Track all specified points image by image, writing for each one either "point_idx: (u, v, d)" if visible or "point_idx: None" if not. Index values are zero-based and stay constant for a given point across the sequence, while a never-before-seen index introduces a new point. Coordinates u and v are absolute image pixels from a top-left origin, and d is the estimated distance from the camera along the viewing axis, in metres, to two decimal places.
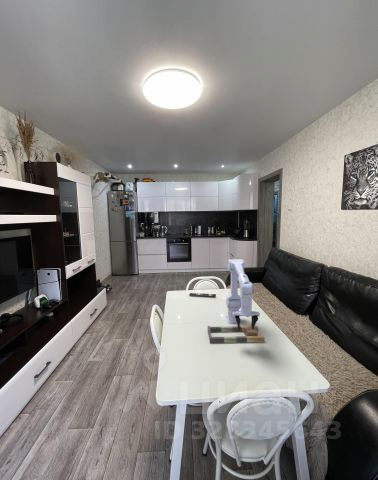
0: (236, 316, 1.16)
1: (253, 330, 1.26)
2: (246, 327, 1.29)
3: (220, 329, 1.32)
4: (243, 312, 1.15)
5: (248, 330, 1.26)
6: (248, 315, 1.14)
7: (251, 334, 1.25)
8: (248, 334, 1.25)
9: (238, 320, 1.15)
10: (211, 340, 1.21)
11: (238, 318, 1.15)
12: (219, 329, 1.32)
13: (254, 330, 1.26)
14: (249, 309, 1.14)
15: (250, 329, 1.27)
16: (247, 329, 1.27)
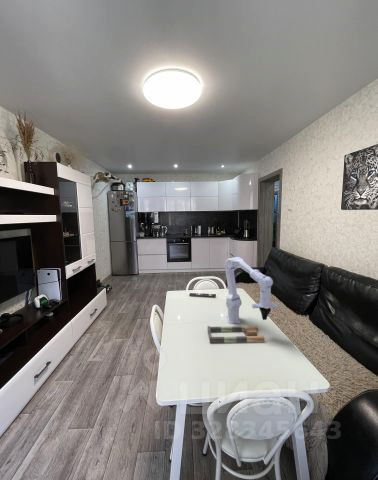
0: (261, 308, 1.25)
1: (254, 330, 1.26)
2: (246, 327, 1.29)
3: (220, 329, 1.32)
4: (262, 304, 1.24)
5: (248, 330, 1.26)
6: (267, 306, 1.22)
7: (251, 334, 1.25)
8: (248, 334, 1.25)
9: (263, 311, 1.24)
10: (211, 340, 1.21)
11: (263, 309, 1.24)
12: (219, 329, 1.32)
13: (254, 330, 1.26)
14: (268, 301, 1.23)
15: (250, 329, 1.27)
16: (247, 329, 1.27)
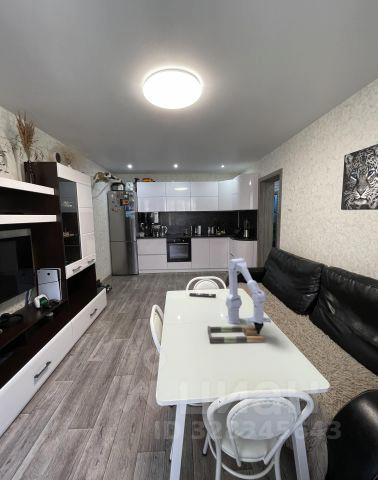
0: (255, 322, 1.26)
1: (253, 330, 1.26)
2: (246, 327, 1.29)
3: (220, 329, 1.32)
4: (256, 319, 1.25)
5: (248, 330, 1.26)
6: (260, 321, 1.23)
7: (251, 334, 1.25)
8: (248, 334, 1.25)
9: (257, 326, 1.25)
10: (211, 340, 1.21)
11: (257, 324, 1.25)
12: (219, 329, 1.32)
13: (254, 330, 1.26)
14: (261, 316, 1.24)
15: (250, 329, 1.27)
16: (247, 329, 1.27)
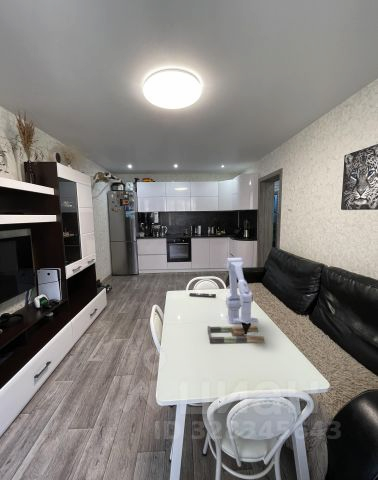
0: (242, 322, 1.26)
1: (241, 330, 1.26)
2: (233, 327, 1.29)
3: (220, 329, 1.32)
4: (243, 319, 1.25)
5: (235, 330, 1.25)
6: (247, 322, 1.23)
7: (238, 334, 1.24)
8: (235, 334, 1.24)
9: (244, 326, 1.25)
10: (211, 340, 1.21)
11: (244, 324, 1.25)
12: (219, 329, 1.32)
13: (242, 330, 1.26)
14: (248, 316, 1.24)
15: (237, 329, 1.27)
16: (234, 329, 1.26)
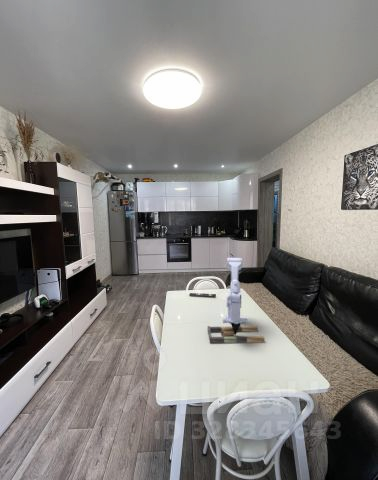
0: None
1: (230, 331, 1.25)
2: (223, 328, 1.28)
3: (220, 329, 1.32)
4: (232, 319, 1.24)
5: (225, 331, 1.25)
6: (237, 322, 1.23)
7: (228, 335, 1.24)
8: (225, 335, 1.24)
9: (234, 326, 1.25)
10: (211, 340, 1.21)
11: (234, 324, 1.25)
12: (219, 329, 1.32)
13: (231, 330, 1.26)
14: (238, 316, 1.24)
15: (227, 330, 1.26)
16: (224, 330, 1.26)
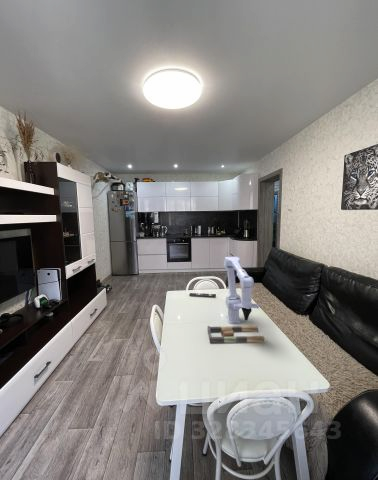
0: (243, 308, 1.25)
1: (230, 331, 1.25)
2: (223, 328, 1.28)
3: (220, 329, 1.32)
4: (243, 304, 1.23)
5: (225, 331, 1.25)
6: (248, 307, 1.22)
7: (228, 335, 1.24)
8: (225, 335, 1.24)
9: (245, 311, 1.23)
10: (211, 340, 1.21)
11: (245, 310, 1.24)
12: (219, 329, 1.32)
13: (231, 331, 1.25)
14: (249, 301, 1.23)
15: (227, 330, 1.26)
16: (224, 330, 1.26)
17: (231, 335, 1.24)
